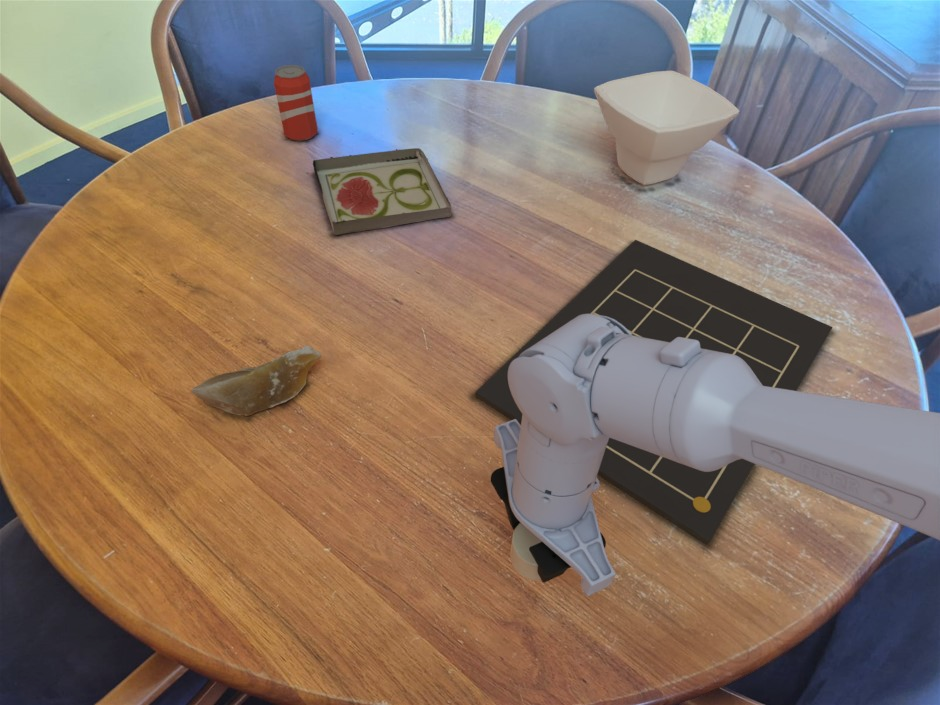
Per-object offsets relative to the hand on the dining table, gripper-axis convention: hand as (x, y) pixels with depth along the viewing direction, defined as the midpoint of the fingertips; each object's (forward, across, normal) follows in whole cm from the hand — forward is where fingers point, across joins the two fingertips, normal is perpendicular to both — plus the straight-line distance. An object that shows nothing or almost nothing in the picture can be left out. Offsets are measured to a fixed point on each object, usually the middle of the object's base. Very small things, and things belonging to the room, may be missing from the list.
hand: (537, 549), depth 53 cm
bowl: (+8, +57, -56) cm, 80 cm away
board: (+8, +19, -30) cm, 36 cm away
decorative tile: (+8, +70, -10) cm, 71 cm away
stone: (+8, +35, +17) cm, 40 cm away
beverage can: (+8, +94, -3) cm, 95 cm away
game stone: (+1, 0, 0) cm, 1 cm away
